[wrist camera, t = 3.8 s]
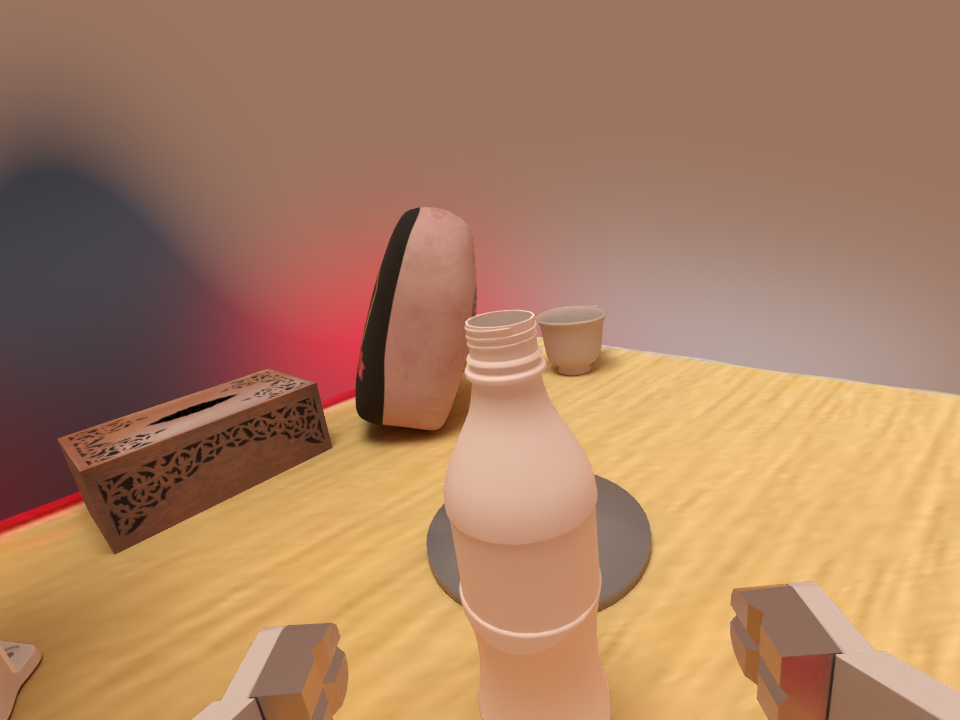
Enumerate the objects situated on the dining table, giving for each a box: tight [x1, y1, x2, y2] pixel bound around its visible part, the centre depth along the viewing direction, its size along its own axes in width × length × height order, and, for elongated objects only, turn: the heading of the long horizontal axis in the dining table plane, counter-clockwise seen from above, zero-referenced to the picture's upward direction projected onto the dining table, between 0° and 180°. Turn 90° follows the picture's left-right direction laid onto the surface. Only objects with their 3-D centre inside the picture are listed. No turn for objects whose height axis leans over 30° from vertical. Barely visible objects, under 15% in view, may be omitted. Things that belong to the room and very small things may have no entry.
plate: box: [427, 475, 651, 612], centre depth 45 cm, size 20×20×1 cm
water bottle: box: [444, 310, 611, 720], centre depth 24 cm, size 7×7×25 cm
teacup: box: [535, 305, 608, 375], centre depth 85 cm, size 12×15×10 cm
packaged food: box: [356, 207, 477, 430], centre depth 70 cm, size 22×20×30 cm
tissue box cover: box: [58, 369, 332, 554], centre depth 63 cm, size 26×14×10 cm, turn 138°
